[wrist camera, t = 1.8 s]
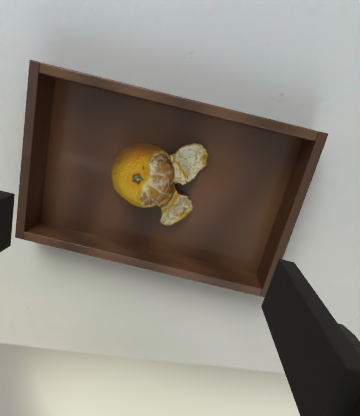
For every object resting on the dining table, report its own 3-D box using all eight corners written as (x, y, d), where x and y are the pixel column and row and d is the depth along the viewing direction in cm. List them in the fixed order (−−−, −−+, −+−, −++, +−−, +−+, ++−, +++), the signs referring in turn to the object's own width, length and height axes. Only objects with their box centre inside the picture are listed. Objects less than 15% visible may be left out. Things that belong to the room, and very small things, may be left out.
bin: (33, 226, 31) (14, 237, 27) (49, 67, 26) (29, 59, 23) (260, 280, 31) (268, 298, 28) (313, 132, 27) (328, 133, 23)
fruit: (185, 227, 29) (184, 241, 26) (106, 203, 29) (94, 214, 26) (211, 147, 27) (214, 150, 24) (126, 120, 27) (115, 120, 23)
